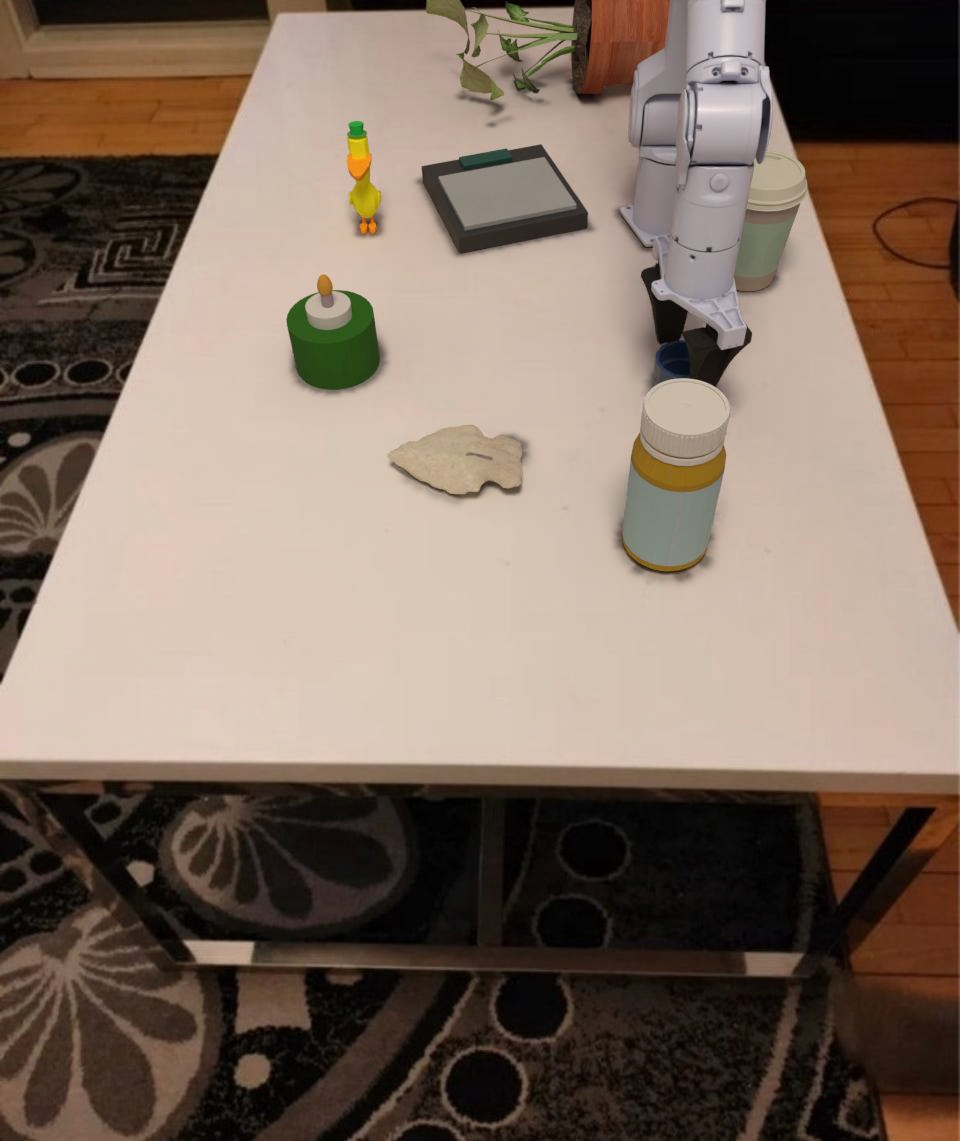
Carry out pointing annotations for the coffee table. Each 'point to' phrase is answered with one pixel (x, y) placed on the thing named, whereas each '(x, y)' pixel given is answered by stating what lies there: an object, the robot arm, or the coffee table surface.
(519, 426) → the coffee table surface
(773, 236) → the coffee cup
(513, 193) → the scale
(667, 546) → the bottle
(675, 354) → the blue cup
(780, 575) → the coffee table surface
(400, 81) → the coffee table surface
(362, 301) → the candle
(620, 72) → the potted plant
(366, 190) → the toy figure
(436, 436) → the decorative stone
